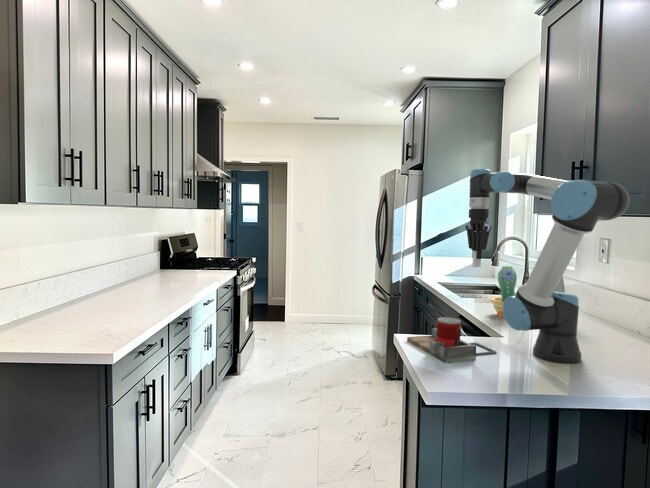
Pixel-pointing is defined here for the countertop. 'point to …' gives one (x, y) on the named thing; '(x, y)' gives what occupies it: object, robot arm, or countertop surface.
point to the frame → (484, 348)
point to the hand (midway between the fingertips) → (476, 266)
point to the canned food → (448, 331)
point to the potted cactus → (504, 288)
